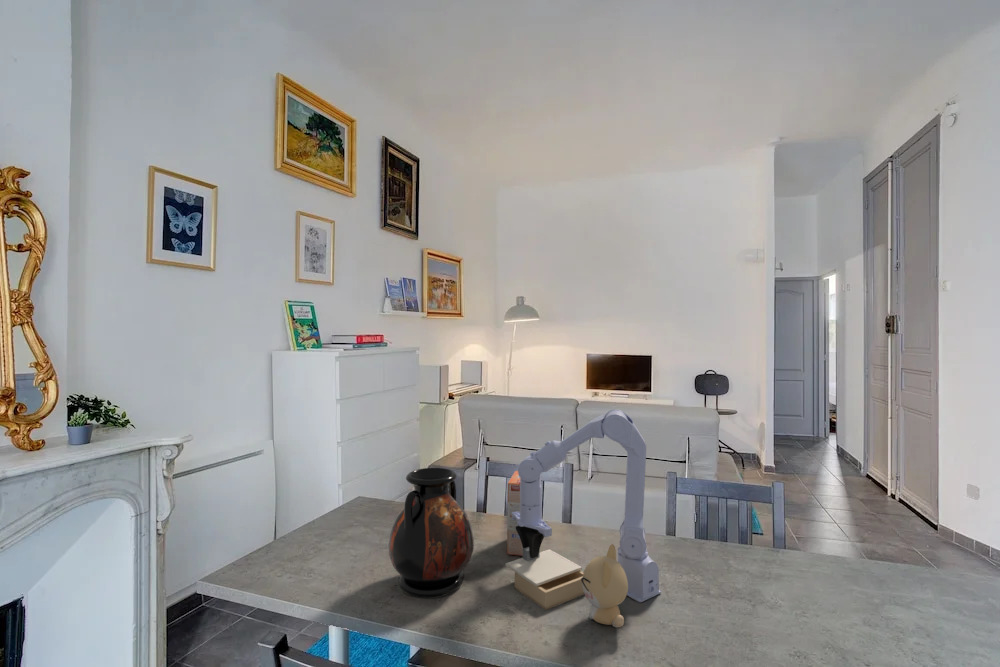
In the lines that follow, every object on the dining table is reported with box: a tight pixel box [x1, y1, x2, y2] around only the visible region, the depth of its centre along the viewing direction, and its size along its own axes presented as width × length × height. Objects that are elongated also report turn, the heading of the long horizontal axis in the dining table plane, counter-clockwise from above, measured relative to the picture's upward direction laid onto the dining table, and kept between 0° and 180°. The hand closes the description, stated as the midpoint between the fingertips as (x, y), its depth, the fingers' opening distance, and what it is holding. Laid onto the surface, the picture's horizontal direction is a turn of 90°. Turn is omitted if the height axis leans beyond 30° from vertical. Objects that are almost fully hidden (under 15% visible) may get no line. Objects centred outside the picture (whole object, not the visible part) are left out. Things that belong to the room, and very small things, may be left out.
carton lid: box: [505, 547, 583, 586], centre depth 123 cm, size 13×15×3 cm
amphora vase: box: [387, 467, 475, 599], centre depth 124 cm, size 22×22×28 cm
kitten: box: [581, 543, 628, 628], centre depth 108 cm, size 15×10×15 cm, turn 159°
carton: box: [514, 570, 585, 611], centre depth 120 cm, size 12×14×4 cm
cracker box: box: [506, 470, 523, 557], centre depth 146 cm, size 14×6×21 cm, turn 168°
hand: (531, 555), depth 127 cm, fingers closed on carton lid, 2 cm apart
